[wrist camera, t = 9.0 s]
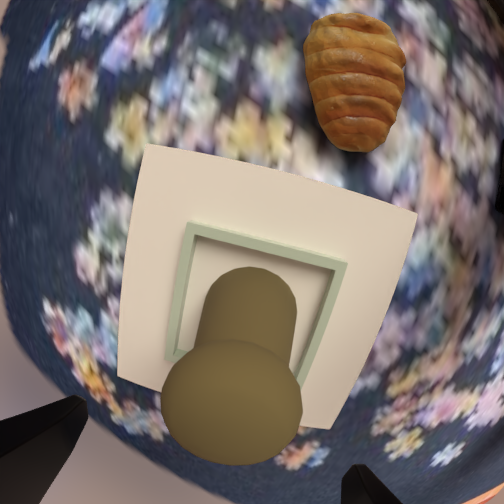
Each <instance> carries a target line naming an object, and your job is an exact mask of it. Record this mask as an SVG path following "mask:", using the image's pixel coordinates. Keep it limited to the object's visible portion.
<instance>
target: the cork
mask: <svg viewBox="0 0 504 504" xmlns="http://www.w3.org/2000/svg"><path fill="white" fill-rule="evenodd" d="M296 318H297V306H296V298H295V296H294V294H293V293H292V291H291V289H290V287H289V285H288V284H287V283H286V282H285V281H284V280H283V279H281V278H280V277H279V276H278V275H276V274H274V273H272V272H270V271H268V270H266V269H263V268H257V267H250V266H248V267H242V268H235V269H233V270H231V271H229V272H227V273H225V274H223V275H221V276H220V277H219V278H218V279H217V280H216V281H215V282H214V283H213V284H212V285H211V287H210V289H209V291H208V293H207V295H206V297H205V301H204V305H203V309H202V314H201V318H200V322H199V326H198V330H197V335H196V339H195V343H194V348H193V349H192V350H190V351H189V352H187V353H186V354H185V355H184V356H183V357H182V358H181V359H180V360H179V361H177V362H176V363H175V364H174V365H173V367H172V368H171V370H170V372H169V373H168V376H167V378H166V380H165V382H164V385H163V387H162V392H161V414H162V416H163V419H164V422H165V424H166V426H167V428H168V430H169V432H170V435H171V436H172V437H173V438H174V439H175V440H176V441H177V442H178V443H179V444H180V445H181V447H183V448H184V449H186V450H187V451H189V452H191V453H192V454H194V455H195V456H197V457H200V458H203V459H205V460H208V461H210V462H214V463H219V464H225V465H251V464H255V463H259V462H263V461H266V460H268V459H270V458H272V457H274V456H276V455H277V454H279V453H280V452H281V451H282V450H283V449H284V448H285V447H286V446H287V445H288V444H289V442H290V441H291V440H292V439H293V438H294V437H295V436H296V433H297V430H298V427H299V425H300V422H301V418H302V414H303V406H302V398H301V390H300V385H299V384H298V382H297V380H296V378H295V377H294V375H293V373H292V372H291V370H290V368H289V363H290V357H291V351H292V344H293V338H294V332H295V325H296Z"/></svg>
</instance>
